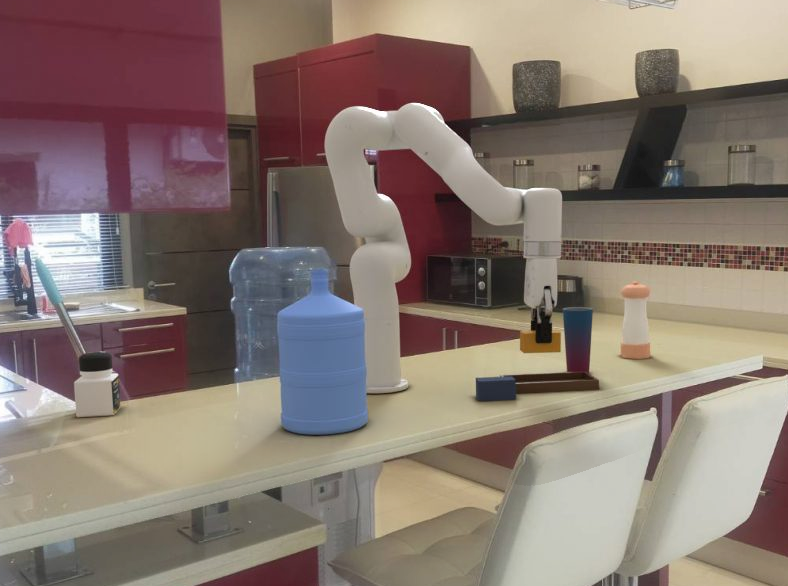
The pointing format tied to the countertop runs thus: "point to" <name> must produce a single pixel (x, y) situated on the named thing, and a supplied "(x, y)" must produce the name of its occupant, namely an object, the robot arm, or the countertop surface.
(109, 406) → the medicine bottle
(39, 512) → the countertop surface
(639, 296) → the pepper shaker
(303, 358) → the water jug
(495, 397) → the dark blue block
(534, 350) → the orange rectangular block
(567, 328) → the cup
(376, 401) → the countertop surface
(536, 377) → the tray
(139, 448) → the countertop surface
